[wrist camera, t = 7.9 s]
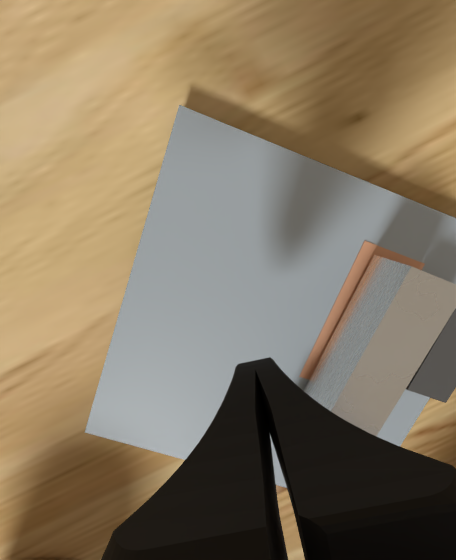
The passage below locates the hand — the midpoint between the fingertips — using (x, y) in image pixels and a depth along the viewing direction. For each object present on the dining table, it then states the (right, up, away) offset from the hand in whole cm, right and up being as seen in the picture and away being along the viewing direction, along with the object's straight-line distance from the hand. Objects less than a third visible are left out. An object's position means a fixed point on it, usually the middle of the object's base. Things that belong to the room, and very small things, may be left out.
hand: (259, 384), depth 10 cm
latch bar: (+5, -1, +5) cm, 7 cm away
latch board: (+2, +1, +6) cm, 6 cm away
